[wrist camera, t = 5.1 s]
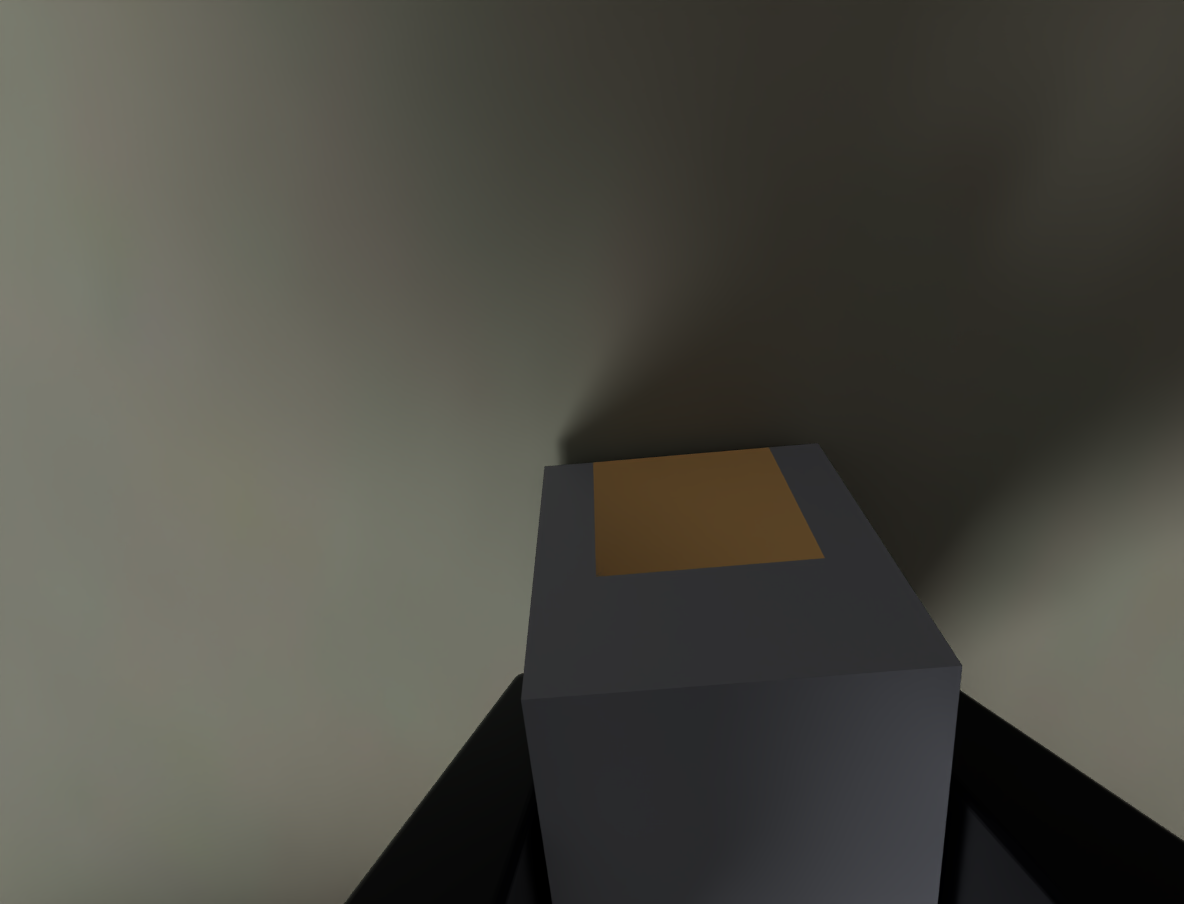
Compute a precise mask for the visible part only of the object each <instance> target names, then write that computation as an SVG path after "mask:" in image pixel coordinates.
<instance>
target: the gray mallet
mask: <svg viewBox="0 0 1184 904" xmlns="http://www.w3.org/2000/svg"><path fill="white" fill-rule="evenodd" d="M961 672H962V665H961V663H960V661H959V660H958V658H957V657H956V655H955V654H954V652H953V651H952V649H951V648H950V646H949V645H948V643H947V641H946V640H945V638H944V637H943V635H942V634H941V632H940V631H939V629H938V628H937V626H936V624H935V623H934V621H933V620H932V618H931V617H930V615H929V614H928V612H927V611H926V609H925V607H924V606H923V604H922V603H921V601H920V600H919V598H918V597H917V595H916V594H915V592H914V591H913V589H912V587H911V586H910V584H909V583H908V581H907V580H906V578H905V577H904V575H903V574H902V572H901V570H900V569H899V567H898V566H897V564H896V563H895V561H894V560H893V558H892V557H891V555H890V553H889V552H888V550H887V549H886V547H885V546H884V544H883V543H882V541H881V540H880V538H879V537H878V535H877V533H876V532H875V530H874V529H873V527H872V526H871V524H870V523H869V521H868V520H867V518H866V516H865V515H864V513H863V512H862V510H861V509H860V507H859V506H858V504H857V503H856V501H855V499H854V498H853V496H852V495H851V493H850V492H849V490H848V489H847V487H846V486H845V484H844V482H843V481H842V479H841V478H840V476H839V475H838V473H837V472H836V470H835V469H834V467H833V466H832V464H831V462H830V461H829V459H828V458H827V456H826V455H825V453H824V452H823V450H822V449H821V447H820V445H819V444H818V443H814V444H803V445H791V446H779V447H767V448H756V449H744V450H732V451H721V452H709V453H697V454H686V455H674V456H662V457H650V458H639V459H627V460H615V461H604V462H592V463H580V464H569V465H557V466H545V469H544V478H543V488H542V498H541V508H540V518H539V528H538V538H537V547H536V557H535V567H534V577H533V587H532V597H531V607H530V616H529V626H528V636H527V646H526V656H525V666H524V676H523V685H522V695H521V703H522V710H523V716H524V723H525V729H526V736H527V742H528V749H529V755H530V762H531V768H532V775H533V781H534V788H535V794H536V801H537V807H538V814H539V820H540V827H541V833H542V840H543V846H544V853H545V859H546V866H547V872H548V879H549V885H550V892H551V898H552V904H938V895H939V885H940V875H941V866H942V856H943V846H944V837H945V827H946V817H947V808H948V798H949V788H950V779H951V769H952V759H953V750H954V740H955V730H956V721H957V711H958V701H959V692H960V682H961Z"/></svg>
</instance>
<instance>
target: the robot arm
mask: <svg viewBox="0 0 1184 904" xmlns="http://www.w3.org/2000/svg"><path fill="white" fill-rule="evenodd" d="M523 676H524V673H522V674H519V675H518V676H516V677H515V679H514V680H513V681H512V683H511V684H510V685H509V686H508V688H507V689H506V690H505V692H504V693H503V694H502V696H501V697H500V698H499V700H498V701H497V702H496V704H495V705H494V706H493V708H492V709H491V710H490V712H489V713H488V714H487V716H486V717H485V718H484V720H483V721H482V722H481V723H480V725H479V726H478V727H477V729H476V730H475V731H474V733H473V734H472V735H471V737H470V738H469V739H468V741H467V742H466V743H465V745H464V746H463V747H462V749H461V750H460V751H459V753H458V754H457V755H456V757H455V758H454V759H453V760H452V762H451V763H450V764H449V766H448V767H447V768H446V770H445V771H444V772H443V774H442V775H441V776H440V778H439V779H438V780H437V782H436V783H435V784H434V786H433V787H432V788H431V790H430V791H429V792H428V794H427V795H426V796H425V798H424V799H423V800H422V801H421V803H420V804H419V805H418V807H417V808H416V809H415V811H414V812H413V813H412V815H411V816H410V817H409V819H408V820H407V821H406V823H405V824H404V825H403V827H402V828H401V829H400V831H399V832H398V833H397V835H396V836H395V837H394V838H393V840H392V841H391V842H390V844H389V845H388V846H387V848H386V849H385V850H384V852H383V853H382V854H381V856H380V857H379V858H378V860H377V861H376V862H375V864H374V865H373V866H372V868H371V869H370V870H369V872H368V873H367V874H366V876H365V877H364V878H363V879H362V881H361V882H360V883H359V885H358V886H357V887H356V889H355V890H354V891H353V893H352V894H351V895H350V897H349V898H348V899H347V901H346V902H345V903H344V904H552V898H551V892H550V885H549V879H548V872H547V866H546V859H545V853H544V846H543V840H542V833H541V827H540V820H539V814H538V807H537V801H536V794H535V788H534V781H533V775H532V768H531V762H530V755H529V749H528V742H527V736H526V729H525V723H524V716H523V710H522V703H521V695H522V685H523ZM938 904H1184V841H1183V840H1182V839H1180V838H1179V837H1177V836H1176V835H1174V834H1173V833H1171V832H1170V831H1168V830H1167V829H1166V828H1164V827H1163V826H1161V825H1160V824H1158V823H1157V822H1155V821H1154V820H1152V819H1151V818H1149V817H1148V816H1146V815H1145V814H1143V813H1142V812H1140V811H1139V810H1137V809H1136V808H1134V807H1133V806H1131V805H1130V804H1128V803H1127V802H1125V801H1124V800H1122V799H1121V798H1119V797H1118V796H1117V795H1115V794H1114V793H1112V792H1111V791H1109V790H1108V789H1106V788H1105V787H1103V786H1102V785H1100V784H1099V783H1097V782H1096V781H1094V780H1093V779H1091V778H1090V777H1088V776H1087V775H1085V774H1084V773H1082V772H1081V771H1079V770H1078V769H1076V768H1075V767H1073V766H1072V765H1070V764H1069V763H1067V762H1066V761H1065V760H1063V759H1062V758H1060V757H1059V756H1057V755H1056V754H1054V753H1053V752H1051V751H1050V750H1048V749H1047V748H1045V747H1044V746H1042V745H1041V744H1039V743H1038V742H1036V741H1035V740H1033V739H1032V738H1030V737H1029V736H1027V735H1026V734H1024V733H1023V732H1021V731H1020V730H1018V729H1017V728H1016V727H1014V726H1013V725H1011V724H1010V723H1008V722H1007V721H1005V720H1004V719H1002V718H1001V717H999V716H998V715H996V714H995V713H993V712H992V711H990V710H989V709H987V708H986V707H984V706H983V705H981V704H980V703H978V702H977V701H975V700H974V699H972V698H971V697H969V696H968V695H966V694H965V693H964V692H962V691H961V690H960V692H959V701H958V711H957V721H956V730H955V740H954V750H953V759H952V769H951V779H950V788H949V798H948V808H947V817H946V827H945V837H944V846H943V856H942V866H941V875H940V885H939V895H938Z"/></svg>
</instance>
